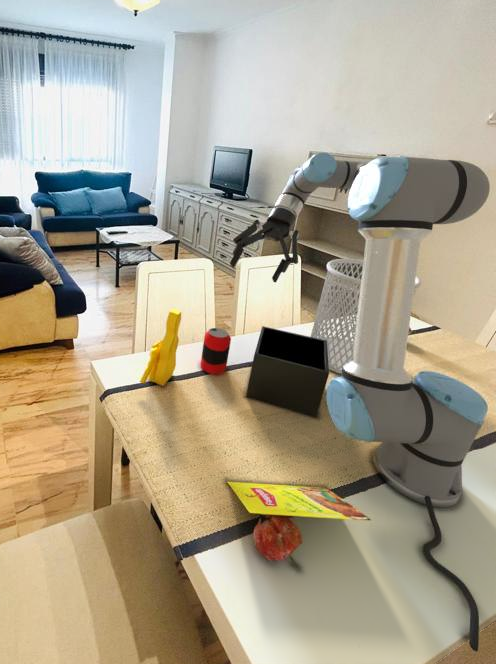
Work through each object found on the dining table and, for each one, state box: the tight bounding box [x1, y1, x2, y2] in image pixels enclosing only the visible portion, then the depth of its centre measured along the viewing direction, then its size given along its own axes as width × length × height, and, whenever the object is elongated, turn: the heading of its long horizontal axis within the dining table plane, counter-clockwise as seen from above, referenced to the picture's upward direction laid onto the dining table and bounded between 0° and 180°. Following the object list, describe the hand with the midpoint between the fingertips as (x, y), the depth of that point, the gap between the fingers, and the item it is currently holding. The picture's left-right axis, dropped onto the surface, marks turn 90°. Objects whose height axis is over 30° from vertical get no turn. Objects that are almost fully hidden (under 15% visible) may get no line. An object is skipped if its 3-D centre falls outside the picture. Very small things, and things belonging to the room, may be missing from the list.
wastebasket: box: [310, 258, 422, 375], centre depth 120 cm, size 25×25×30 cm
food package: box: [227, 481, 373, 522], centre depth 70 cm, size 15×1×20 cm
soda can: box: [200, 327, 232, 375], centre depth 113 cm, size 8×8×12 cm
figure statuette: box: [139, 308, 182, 387], centre depth 105 cm, size 18×8×22 cm, turn 150°
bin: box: [245, 325, 330, 418], centre depth 105 cm, size 18×18×14 cm
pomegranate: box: [253, 513, 303, 568], centre depth 64 cm, size 7×7×10 cm
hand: (252, 272), depth 114 cm, fingers open, 13 cm apart
